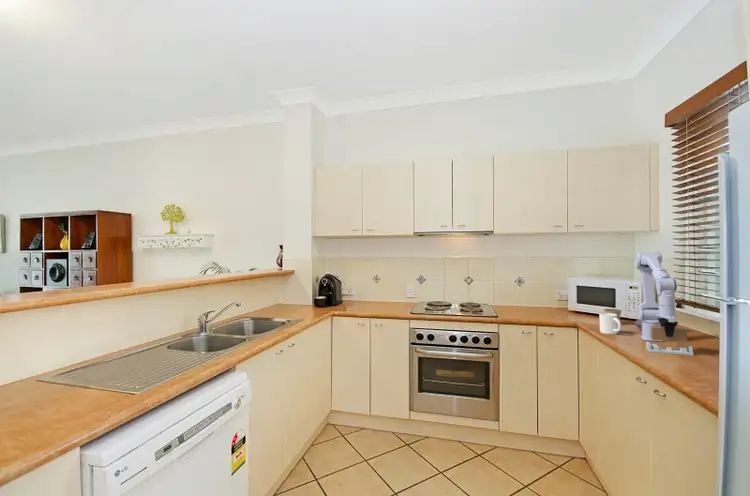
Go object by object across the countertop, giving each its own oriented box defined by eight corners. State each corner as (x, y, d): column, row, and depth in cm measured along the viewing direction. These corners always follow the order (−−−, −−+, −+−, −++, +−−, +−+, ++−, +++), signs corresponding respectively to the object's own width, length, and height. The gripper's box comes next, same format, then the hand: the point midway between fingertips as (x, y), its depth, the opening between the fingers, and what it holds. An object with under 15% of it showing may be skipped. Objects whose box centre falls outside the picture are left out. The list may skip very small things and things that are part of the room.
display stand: (646, 347, 165) (645, 341, 165) (688, 351, 158) (688, 344, 158) (649, 351, 159) (649, 344, 159) (693, 355, 152) (693, 347, 152)
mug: (627, 335, 189) (627, 316, 189) (614, 336, 188) (613, 317, 188) (609, 331, 201) (608, 312, 201) (596, 331, 199) (595, 313, 200)
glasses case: (650, 338, 163) (650, 326, 163) (684, 340, 157) (684, 327, 157) (652, 339, 160) (652, 327, 160) (687, 342, 154) (686, 329, 154)
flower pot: (601, 322, 224) (600, 308, 225) (618, 322, 223) (617, 308, 223) (608, 325, 215) (607, 311, 215) (625, 325, 213) (624, 311, 213)
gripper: (652, 302, 167) (653, 331, 167) (659, 307, 154) (661, 338, 154) (671, 303, 164) (672, 332, 163) (680, 307, 151) (681, 339, 151)
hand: (668, 335), depth 158 cm, fingers closed on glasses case, 4 cm apart
